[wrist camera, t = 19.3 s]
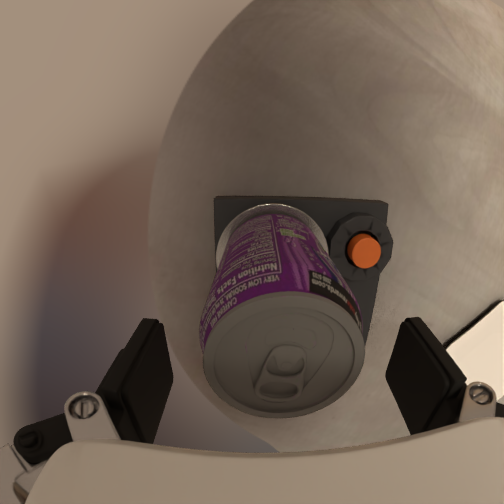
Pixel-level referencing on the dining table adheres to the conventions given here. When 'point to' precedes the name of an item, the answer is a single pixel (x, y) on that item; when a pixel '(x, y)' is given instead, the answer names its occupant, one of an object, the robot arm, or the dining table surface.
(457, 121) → the dining table surface
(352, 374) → the beverage can
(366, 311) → the scale
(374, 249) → the tare button
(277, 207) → the weighing platter
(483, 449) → the robot arm
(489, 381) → the plate
